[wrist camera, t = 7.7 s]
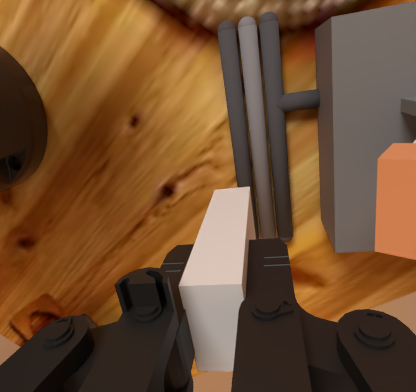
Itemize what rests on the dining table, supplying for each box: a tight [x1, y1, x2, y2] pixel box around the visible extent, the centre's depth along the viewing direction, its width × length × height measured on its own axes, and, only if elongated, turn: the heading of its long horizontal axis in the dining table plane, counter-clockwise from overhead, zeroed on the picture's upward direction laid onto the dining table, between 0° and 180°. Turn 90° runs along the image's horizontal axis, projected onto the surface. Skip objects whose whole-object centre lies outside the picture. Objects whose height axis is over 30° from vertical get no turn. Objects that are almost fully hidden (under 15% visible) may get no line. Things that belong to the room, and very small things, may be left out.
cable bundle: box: [218, 12, 320, 242], centre depth 27 cm, size 8×19×1 cm, turn 9°
